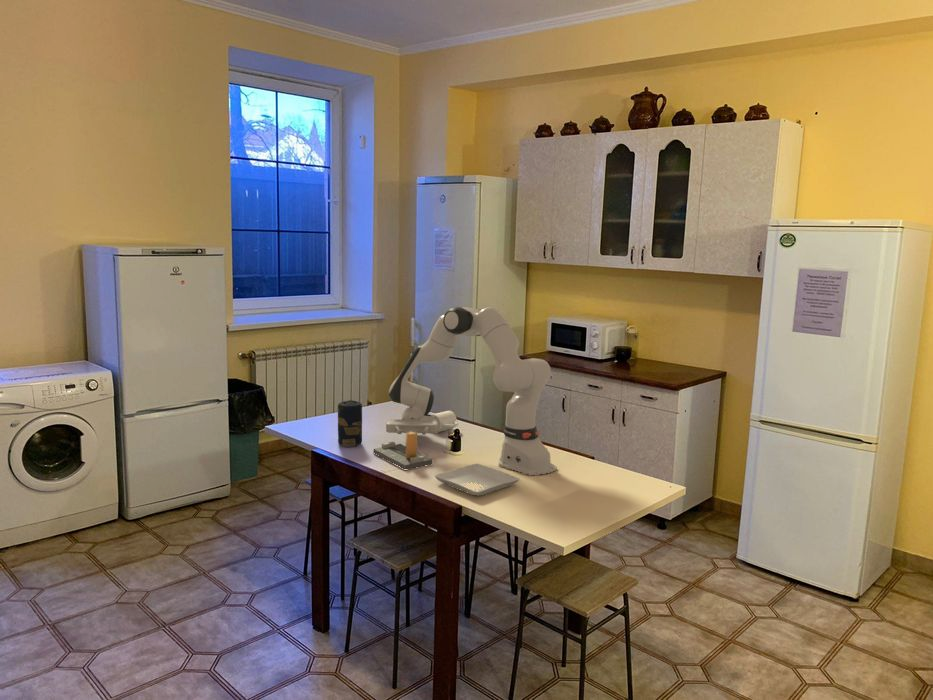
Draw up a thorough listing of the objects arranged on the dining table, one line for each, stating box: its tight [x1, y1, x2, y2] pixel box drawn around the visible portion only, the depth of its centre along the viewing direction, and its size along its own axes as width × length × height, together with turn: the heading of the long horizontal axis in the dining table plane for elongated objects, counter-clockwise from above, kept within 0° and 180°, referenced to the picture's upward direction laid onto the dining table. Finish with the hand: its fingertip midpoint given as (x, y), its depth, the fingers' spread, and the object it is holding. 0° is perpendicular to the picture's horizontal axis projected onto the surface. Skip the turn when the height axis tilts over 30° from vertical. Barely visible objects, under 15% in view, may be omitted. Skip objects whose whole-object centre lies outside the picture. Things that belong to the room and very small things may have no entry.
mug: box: [431, 410, 459, 433], centre depth 303 cm, size 12×10×8 cm
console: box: [373, 441, 433, 470], centre depth 266 cm, size 22×12×4 cm, turn 38°
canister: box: [337, 399, 363, 447], centre depth 280 cm, size 10×10×18 cm
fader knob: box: [405, 432, 418, 459], centre depth 260 cm, size 4×4×9 cm
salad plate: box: [434, 463, 520, 496], centre depth 242 cm, size 21×21×3 cm
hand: (411, 432), depth 272 cm, fingers open, 8 cm apart
